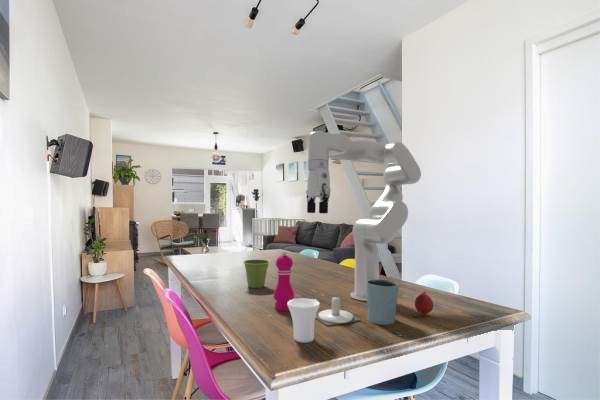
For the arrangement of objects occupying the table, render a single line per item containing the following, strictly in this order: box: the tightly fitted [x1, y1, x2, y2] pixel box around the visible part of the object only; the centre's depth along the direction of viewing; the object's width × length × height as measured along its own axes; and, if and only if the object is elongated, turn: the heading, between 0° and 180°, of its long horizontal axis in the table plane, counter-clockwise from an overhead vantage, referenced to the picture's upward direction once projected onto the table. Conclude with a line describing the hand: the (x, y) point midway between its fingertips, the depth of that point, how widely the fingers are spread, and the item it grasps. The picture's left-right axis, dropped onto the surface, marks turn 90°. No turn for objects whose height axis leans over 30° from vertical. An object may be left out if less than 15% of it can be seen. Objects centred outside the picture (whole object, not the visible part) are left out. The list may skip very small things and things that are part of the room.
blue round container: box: [366, 278, 400, 326], centre depth 106 cm, size 10×10×12 cm
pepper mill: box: [273, 251, 295, 312], centre depth 117 cm, size 7×7×20 cm
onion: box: [414, 291, 434, 317], centre depth 111 cm, size 6×6×8 cm
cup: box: [287, 297, 321, 344], centre depth 90 cm, size 9×9×10 cm
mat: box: [315, 313, 361, 327], centre depth 106 cm, size 12×10×1 cm
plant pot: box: [243, 258, 271, 289], centre depth 148 cm, size 12×12×11 cm
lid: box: [318, 296, 354, 324], centre depth 106 cm, size 11×11×6 cm
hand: (317, 213), depth 120 cm, fingers open, 9 cm apart
